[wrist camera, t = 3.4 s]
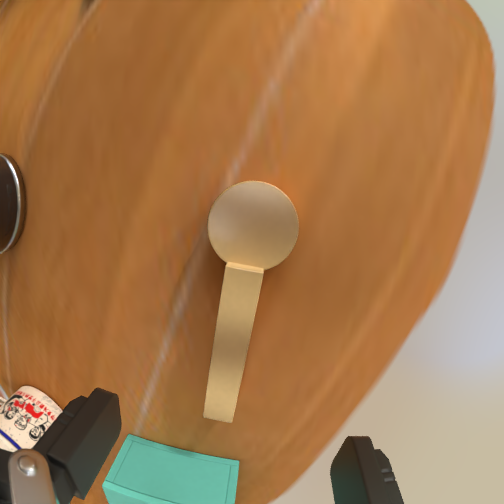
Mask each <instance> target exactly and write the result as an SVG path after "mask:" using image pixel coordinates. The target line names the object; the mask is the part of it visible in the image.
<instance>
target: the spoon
mask: <svg viewBox="0 0 504 504" xmlns="http://www.w3.org/2000/svg"><path fill="white" fill-rule="evenodd" d="M207 231H208V237H209V240H210V243H211V245H212V247H213V249H214V251H215V252H216V253H217V255H218V256H219V257H220V258H221V259H222V260H223V261H224V262H226V263H227V264H226V266H225V272H224V278H223V284H222V290H221V297H220V303H219V309H218V316H217V322H216V329H215V335H214V342H213V349H212V356H211V362H210V369H209V376H208V383H207V391H206V398H205V405H204V413H203V417H204V418H209V419H214V420H219V421H224V422H229V423H232V420H233V416H234V411H235V407H236V402H237V398H238V393H239V389H240V384H241V379H242V375H243V370H244V365H245V361H246V356H247V351H248V347H249V342H250V337H251V332H252V328H253V323H254V318H255V313H256V308H257V304H258V299H259V294H260V289H261V284H262V279H263V274H264V270H267V269H270V268H273V267H275V266H276V265H278V264H280V263H281V262H282V261H283V260H285V259H286V258H287V257H288V255H289V254H290V253H291V251H292V250H293V248H294V246H295V244H296V241H297V238H298V233H299V220H298V215H297V212H296V209H295V207H294V205H293V203H292V202H291V200H290V199H289V198H288V196H287V195H286V194H285V193H284V192H282V191H281V190H280V189H278V188H277V187H275V186H273V185H271V184H268V183H265V182H261V181H245V182H241V183H237V184H235V185H233V186H231V187H229V188H227V189H226V190H225V191H223V192H222V193H221V194H220V195H219V196H218V197H217V199H216V200H215V201H214V203H213V205H212V207H211V209H210V212H209V215H208V221H207Z"/></svg>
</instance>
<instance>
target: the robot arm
mask: <svg viewBox="0 0 504 504" xmlns="http://www.w3.org/2000/svg"><path fill="white" fill-rule="evenodd" d="M25 210H26V196H25V187H24V182H23V178H22V175H21V172H20V169H19V167H18V165H17V164H16V162H15V161H14V159H13V158H12V157H10V156H9V155H7V154H4V153H0V254H1V253H4V252H7V251H9V250H10V249H11V248H12V247H13V246H14V245H15V244H16V242H17V241H18V239H19V237H20V234H21V232H22V229H23V225H24V219H25ZM120 430H121V416H120V407H119V398H118V395H117V394H115V393H112V392H109V391H106V390H104V389H101V388H96V389H94V391H93V392H92V393H91V394H90V396H89V397H88V398H86V397H84V396H80V397H78V398H76V399H74V400H72V401H70V402H69V403H68V405H67V406H66V407H65V408H64V409H63V411H62V413H60V414H59V416H58V417H57V419H56V420H54V422H53V423H52V424H51V425H50V427H49V428H48V429H47V430H46V432H45V433H44V434H43V435H42V436H41V438H40V439H39V440H38V442H37V443H36V444H35V445H34V446H33V447H32V448H31V449H27V448H24V449H19V450H16V451H15V452H11V451H7V450H4V449H1V448H0V504H70V501H71V500H72V498H73V496H76V497H78V498H80V499H82V500H84V499H85V497H86V495H87V493H88V491H89V489H90V487H91V486H92V484H93V482H94V480H95V478H96V476H97V475H98V473H99V471H100V469H101V467H102V465H103V464H104V462H105V460H106V458H107V456H108V455H109V453H110V451H111V449H112V447H113V446H114V444H115V442H116V440H117V438H118V436H119V434H120ZM330 476H331V482H332V488H333V494H334V501H335V504H404V502H403V499H402V496H401V493H400V490H399V487H398V484H397V482H396V481H395V476H394V473H393V472H392V467H391V465H390V462H389V459H388V458H387V457H386V456H385V454H383V452H382V451H381V450H380V449H376V450H374V447H373V444H372V441H371V439H370V437H368V436H348V437H347V438H346V439H345V441H344V443H343V444H342V446H341V448H340V450H339V451H338V453H337V455H336V456H335V458H334V460H333V462H332V465H331V470H330Z"/></svg>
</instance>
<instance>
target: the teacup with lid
mask: <svg viewBox="0 0 504 504" xmlns="http://www.w3.org/2000/svg"><path fill="white" fill-rule="evenodd" d="M0 405H2V406H1V407H0V448H1V449H4V450H7V451H11V452H15V451H16V450H19V449H24V448H27V449H31V448H32V447H33V446H34V445H35V444H36V443H37V442H38V440H39V439H40V438H41V436H42V435H43V434H44V433H45V432H46V430H47V429H48V428H49V427H50V425H51V424H52V423H53V422H54V420H56V419H57V417H58V416H59V414H60V413H62V410H61V409H60V407H59V406H58V405H57V404H56V403H55V402H54V401H53V400H52V399H51V398H49V397H48V396H47V395H46V394H44V393H43V392H41V391H40V390H38V389H36V388H34V387H31V386H23V387H21V388H20V389H18V390H17V391H16V392H15V393H14V394H13V395H12V396H11V397H10V398H9V399H8V400H6V399H4V398H2V397H0Z"/></svg>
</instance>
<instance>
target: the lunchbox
mask: <svg viewBox="0 0 504 504" xmlns="http://www.w3.org/2000/svg"><path fill="white" fill-rule="evenodd" d="M238 469H239V461H237V460H231V459H225V458H220V457H214V456H209V455H204V454H200V453H195V452H191V451H186V450H182V449H178V448H174V447H170V446H167V445H163V444H160V443H156V442H153V441H149V440H146V439H143V438H140V437H137V436H134V435H131V434H128V436H127V438H126V439H125V441H124V443H123V445H122V447H121V449H120V451H119V453H118V455H117V457H116V459H115V461H114V463H113V465H112V467H111V468H110V470H109V472H108V474H107V476H106V478H105V481H108V482H110V483H113V484H116V485H118V486H121V487H124V488H127V489H129V490H132V491H135V492H138V493H141V494H144V495H148V496H151V497H154V498H158V499H161V500H165V501H169V502H172V503H176V504H235V496H236V487H237V478H238Z"/></svg>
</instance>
